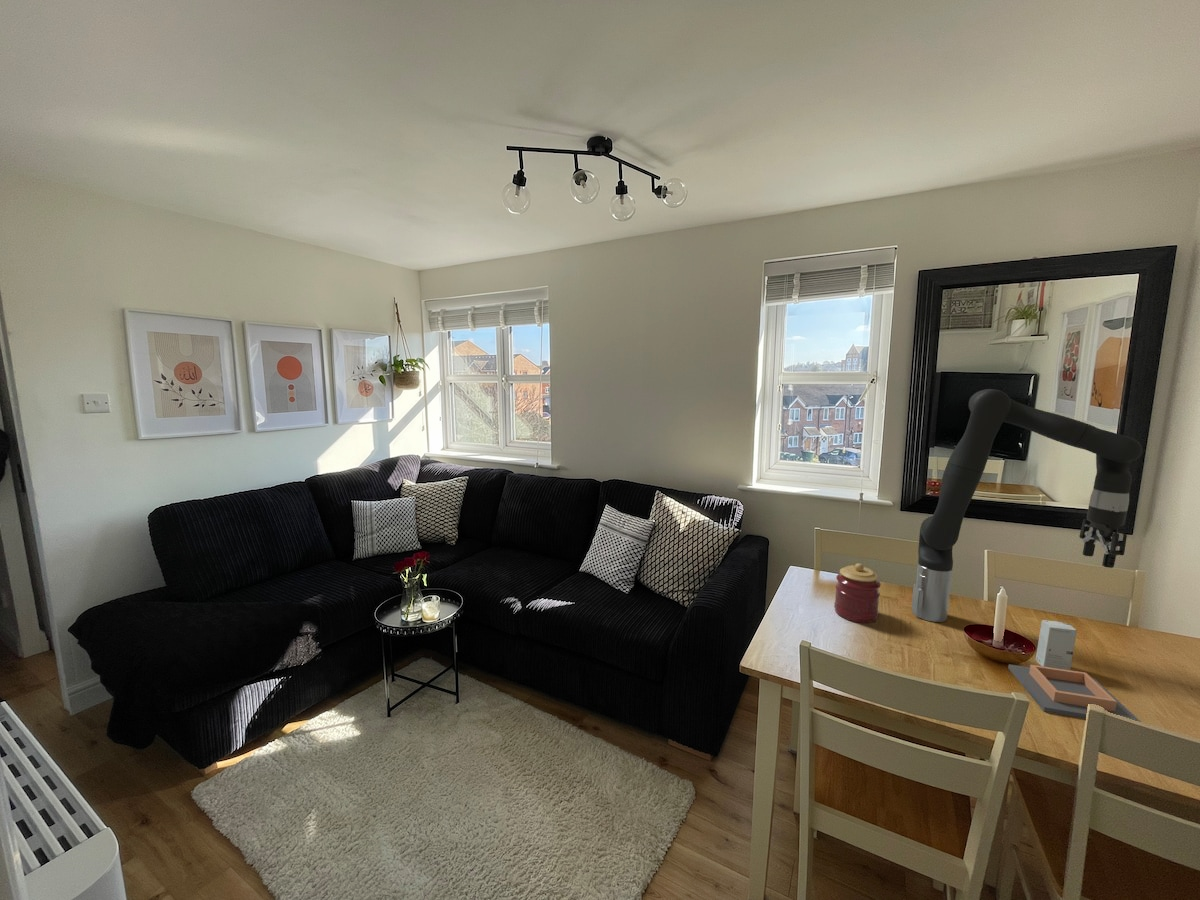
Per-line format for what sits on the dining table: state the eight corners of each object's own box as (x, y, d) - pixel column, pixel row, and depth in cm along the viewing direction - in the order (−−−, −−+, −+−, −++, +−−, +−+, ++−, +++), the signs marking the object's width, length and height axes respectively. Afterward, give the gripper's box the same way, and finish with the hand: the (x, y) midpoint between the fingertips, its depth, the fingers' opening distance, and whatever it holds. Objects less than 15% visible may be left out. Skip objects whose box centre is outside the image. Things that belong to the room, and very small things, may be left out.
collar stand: (1043, 711, 116) (1045, 697, 115) (1008, 668, 133) (1009, 655, 132) (1141, 728, 110) (1144, 713, 110) (1091, 680, 127) (1093, 667, 127)
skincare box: (1043, 668, 133) (1049, 627, 131) (1034, 659, 137) (1040, 619, 135) (1071, 672, 131) (1078, 630, 129) (1061, 663, 135) (1068, 622, 133)
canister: (879, 610, 165) (883, 561, 162) (876, 627, 154) (881, 574, 151) (836, 601, 172) (840, 553, 169) (831, 617, 161) (835, 566, 158)
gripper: (1075, 498, 144) (1066, 551, 147) (1108, 512, 131) (1097, 569, 134) (1107, 501, 142) (1097, 553, 145) (1144, 514, 129) (1132, 572, 132)
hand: (1097, 561), depth 139 cm, fingers open, 8 cm apart
